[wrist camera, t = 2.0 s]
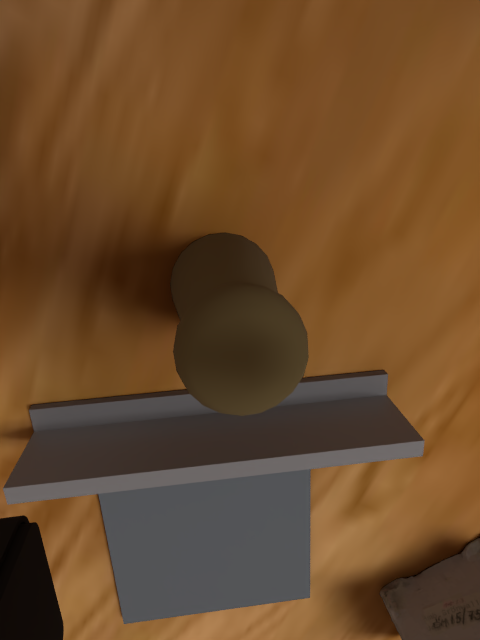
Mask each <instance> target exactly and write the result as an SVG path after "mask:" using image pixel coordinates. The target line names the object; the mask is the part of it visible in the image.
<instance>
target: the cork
mask: <svg viewBox="0 0 480 640" xmlns="http://www.w3.org/2000/svg"><path fill="white" fill-rule="evenodd" d="M170 286H171V292H172V298H173V302H174V304H175V307H176V310H177V313H178V315H179V318H180V322H179V324H178V326H177V331H176V337H175V342H174V350H173V353H174V359H175V365H176V370H177V373H178V374H179V376H180V378H181V380H182V382H183V383H184V385H185V387H186V389H187V390H188V392H189V393H190V394H191V395H192V396H193V397H194V398H195V399H196V400H197V401H199V402H200V403H201V404H202V405H203V406H205V407H208V408H210V409H212V410H214V411H217V412H219V413H222V414H230V415H238V416H245V415H252V414H258V413H262V412H264V411H266V410H268V409H271V408H273V407H275V406H277V405H278V404H279V403H280V402H282V401H283V400H284V399H285V398H286V397H288V396H289V395H290V394H291V393H292V392H293V391H294V390H295V388H296V387H297V385H298V383H299V382H300V380H301V379H302V377H303V376H304V372H305V369H306V365H307V361H308V339H307V331H306V329H305V327H304V324H303V322H302V320H301V317H300V315H299V314H298V312H297V311H296V310H295V309H294V308H293V306H292V305H291V304H290V303H289V302H288V301H287V300H286V299H285V298H284V297H283V296H282V295H280V294H279V293H278V291H277V286H276V281H275V276H274V271H273V269H272V266H271V264H270V262H269V259H268V257H267V255H266V254H265V253H264V252H263V251H262V250H261V249H260V248H259V246H258V245H257V244H255V243H254V242H252V241H250V240H248V239H247V238H245V237H243V236H240V235H235V234H230V233H218V234H210V235H207V236H205V237H202V238H200V239H198V240H196V241H194V242H192V243H191V244H190V245H189V246H188V247H187V248H186V249H185V250H184V251H183V252H182V253H181V254H180V256H179V258H178V260H177V261H176V263H175V265H174V267H173V270H172V276H171V282H170Z"/></svg>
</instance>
